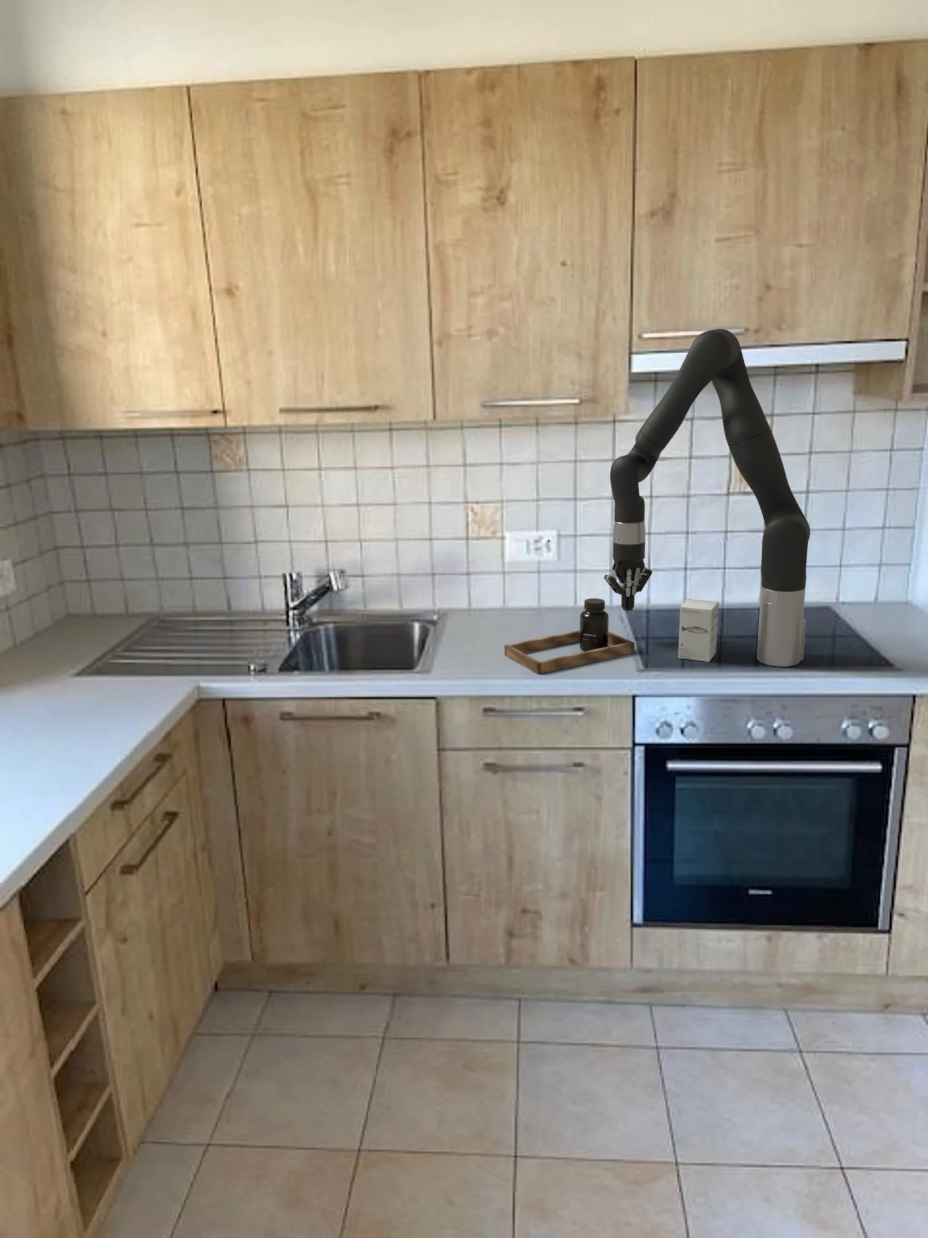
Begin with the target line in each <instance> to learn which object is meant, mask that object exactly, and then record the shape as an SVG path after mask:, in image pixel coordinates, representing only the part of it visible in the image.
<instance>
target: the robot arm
mask: <svg viewBox="0 0 928 1238" xmlns="http://www.w3.org/2000/svg"><path fill="white" fill-rule="evenodd" d="M710 382H711V383H712V386H713V388H714V390H715V392H716V395H717V398H718V400H719V403H720V404H719V405H720V410H721V420H722V426H723V427H722V428H723V431H724V432H723V433H724V436H725V440H726V443H727V445H728V449H729V451H730V453H731V456H732V459H733V461H734V463H735V466H736V469H738V471H739V473H740V475H741V477H742V478H743V480H744V481H745V482H746V484H747V485H748V487H749V488H750V490H751V492H752V493H753V495H754V496H755V499H756V501H757V503H758V506H759V509H760V512H761V515H762V518H763V522H764V526H765V528H764V531H763V534H762V541H761V543H762V544H761V560H760V562H761V563H760V575H761V576H760V577H761V583H760V585H761V586H760V599H759V602H760V603H759V615H758V618H759V619H758V620H759V621H758V633H757V635H758V636H757V650H756V651H757V652H756V659H757V661H758V662H760V663H761V664H764V665H767V666H770V667H771V666H772V667H773V666H774V667H782V668H783V667H793V666H796V665H798V664H799V663H800V662H801V661H803V660H804V655H805V654H804V653H805V642H806V628H807V619H805V618H804V612H805V598H806V597H805V596H806V587H807V586H806V585H807V562H808V559H807V558H808V549H809V540H810V537H811V536H810V535H811V528H810V523H809V522H808V520H807V518H806V516H805V515H804V513H803V511H802V509H801V507H800V505H799V504H798V501H797V499H796V496H795V495H794V493H793V491H792V488H791V487H790V485H789V481H788V477H787V474H786V470H785V466H784V462H783V459H782V456H781V453H780V451H779V447H778V444H777V441H776V440H775V437H774V434H773V431H772V429H771V426H770V425H769V422H768V419H767V418H766V415H765V413H764V410H763V408H762V406H761V403H760V401H759V398H758V397H757V395H756V393H755V390H754V388H753V386H752V383H751V379H750V377H749V374H748V370H747V367H746V362H745V359H744V355H743V351H742V348H741V345H740V341H739V340H738V338H737V337H736V335H735V334H734V333H733V332H732V331H730V330H728V329H725V328H715V329H710V330H709V329H708V330H707V331H704V332H701V333H700V334H698V335H697V336H696V337H695V339H694V340H693V341H692V343H691V345H690V348H689V350H688V352H687V353H686V356H685V358H684V359H683V362H682V364H681V366H680V368H679V370H678V372H677V374H676V376H675V377H674V379H673V381H672V382H671V384H670V386H669V387H668V389H667V391H666V392H665V393H664V394H663V397H662V398H661V399H660V401H658V403H657V404H656V406H655V407H654V409H653V410H652V412H651V413H650V414H649V416H648V417H647V419H646V420H645V422H644V423H643V424H642V426H641V427H640V429H639V430H638V432H637V433H636V435H635V443H634V444H633V446H632V448H631V449H630V451H629V452H628V453H627V454H625V455H621V456H619V457H617V458H616V459H614V461H613V462H612V464H611V467H610V472H609V480H610V481H609V482H610V487H611V492H612V497H613V500H614V507H613V508H614V510H613V512H614V513H613V515H614V516H613V528H612V560H613V565H612V566H611V567H612V568H611V572H610V573H609V574H605V575H604V576H603V579H604V580H605V581H606V583H607V585H608V586H609V587H610V588H611V590H612V591H613V592H614V594H618V595H620V596H621V597H620V599H621V600H620V602H621V603H620V604H621V608H622V610H623V611H625V612H629V611H633V610H634V608H635V598H636V597H635V596H636V594H637V593H640V592H642V591H643V589H644V588H645V586H646V584H647V583H648V581H649V580H650V578H651V576H652V575H653V570H651V569H649V568H647V567H646V564H645V561H644V559H645V557H646V524H645V523H646V522H645V518H646V517H645V516H646V513H645V512H646V503H645V499H644V497H643V496H642V495H640V488H639V487H640V485H639V484H640V483H641V482H643V481H644V480H646V478H647V477H648V476H649V475H650V474H651V473H652V470H653V469H654V468H655V465H656V464H657V462H658V460H659V458H660V456H661V453H662V452H663V451H664V450H665V449H666V447H667V445H669V443H670V442H671V440H672V439H673V438H674V436H675V435H676V433H677V432H678V430H679V429H680V427H681V426H682V424H683V422H684V421H685V418H686V417H687V414H688V412H689V410H690V409H691V407H692V405H693V403H694V402H695V401H696V399H697V398H698V396H699V395H700V394H701V392H702V391H703V390H704V389H705V388H706V386H708V385H709V384H710Z"/></svg>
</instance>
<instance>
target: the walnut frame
mask: <svg viewBox="0 0 928 1238" xmlns="http://www.w3.org/2000/svg"><path fill="white" fill-rule="evenodd" d="M579 638H580V629H579V630H574V631H569V632H563V633H560V634H559V633H558V634H553V635H550V636H549V635H548V636H543V637H540V638H535V639H530V640H524V641H520V642H513V643H510V644H504V656H505V657H507V658H509V659H511V661H514V662H515V663H517V664H520V665H521V666H523V667H524V668H526V669H528V670H529V671H532V672H533V673H534V674H537V675H538V674H539V675H540V674H543V673H544V674H545V673H548V672H553V671H558V670H563V669H567V668H572V667H575V666H581V665H584V664H589V663H594V662H598V661H603V660H608V659H613V658H618V657H622V656H626V655H632V654H635V641H634V642H633V641H632V640H629V639H627V638H625V637H623V636H620V635H619V634H616V633H614V632H611V631H609V630H608V647H604V648H599V649H595V650H590V651H581V652H577V653H572V654H567V655H562V656H558V657H553V658H548V659H543V660H537V659H535V658H533V657H532V656H530V655H528V654H526V653H530V652H534V651H540V650H545V649H550V648H555V647H559V646H563V645H569V644H573V643H579ZM609 645H610V646H609Z"/></svg>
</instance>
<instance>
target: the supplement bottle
mask: <svg viewBox="0 0 928 1238" xmlns="http://www.w3.org/2000/svg"><path fill="white" fill-rule="evenodd" d="M583 603H584V606H583V609H584V610H582V611H581V612H580V614H579V630H580V638H579V642H578V643H579V644H578V645H579V648H580V650H581V652H585V651H590V650H595V649H599V648H604V647H609V643H608V631H609V629H610V628H609V626H610V625H609V623H610V621H609V620H610V616H609V613H608V612H607V611H606V601H605V600H604V599H602V598H597V597H595V598H594V597H593V598H592V597H591V598H586V599H585V600H584V601H583Z"/></svg>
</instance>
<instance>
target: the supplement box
mask: <svg viewBox="0 0 928 1238" xmlns="http://www.w3.org/2000/svg"><path fill="white" fill-rule="evenodd" d="M719 607H720V602H719V601H714V600H713V601H711V600H703V599H692V598H688V599H686V600H685V601H684V602H683V603H682V604H681V606H680V610H679V630H678V631H679V633H678V654H677V655H678V656H677V657H678V659H683V660H692V661H699V662H706V663H710V662H711V660H712V658H713V657H714V656H715V654H716V652H717V641H718V640H717V639H718V638H717V637H718V623H719V609H720V608H719Z"/></svg>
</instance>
